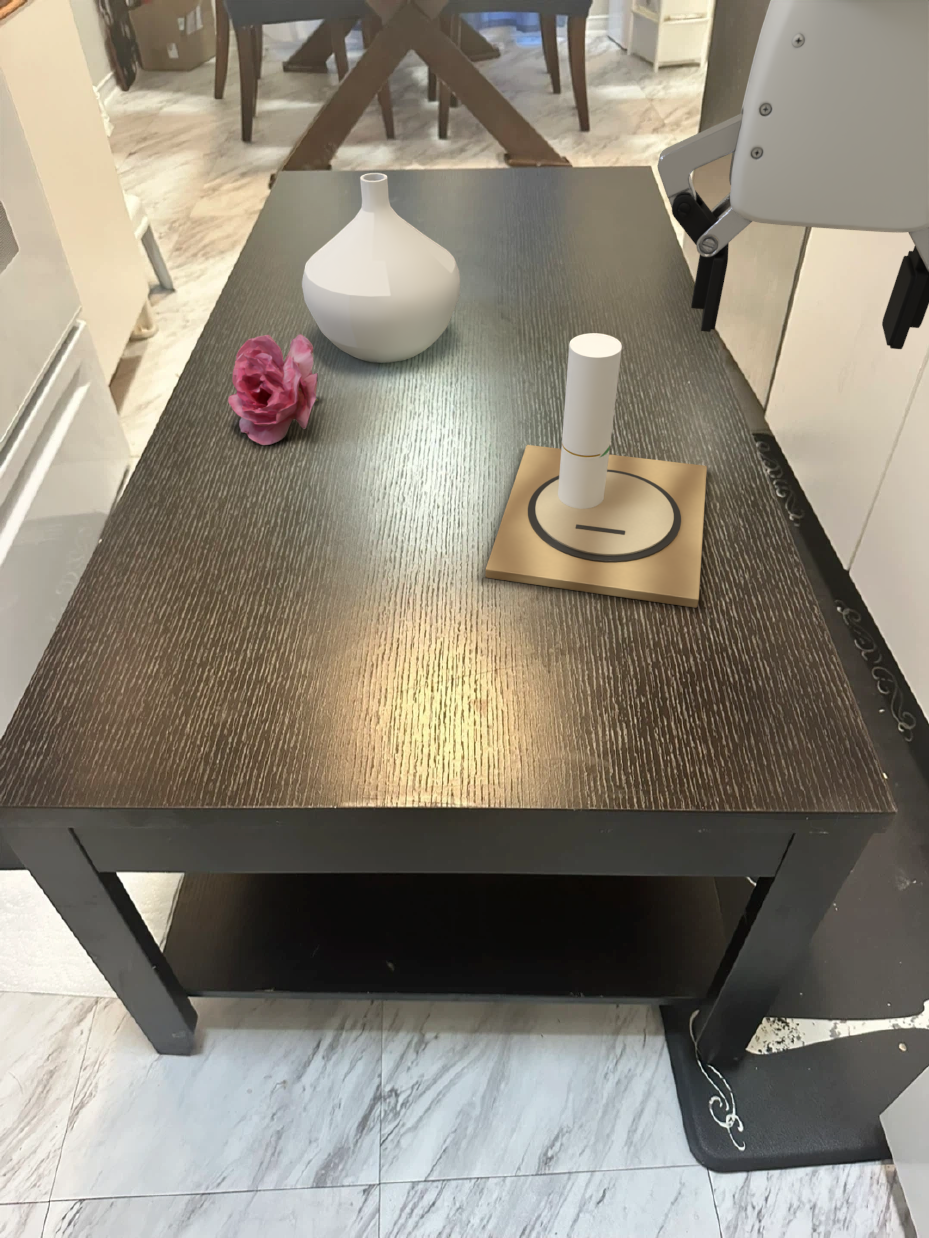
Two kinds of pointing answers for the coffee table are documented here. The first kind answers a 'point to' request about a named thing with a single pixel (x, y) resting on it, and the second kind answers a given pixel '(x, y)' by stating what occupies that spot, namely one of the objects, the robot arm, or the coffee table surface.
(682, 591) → the drawing board
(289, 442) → the coffee table surface
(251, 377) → the flower
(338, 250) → the vase
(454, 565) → the coffee table surface
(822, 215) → the robot arm
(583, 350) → the tube
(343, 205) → the coffee table surface
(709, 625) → the coffee table surface
